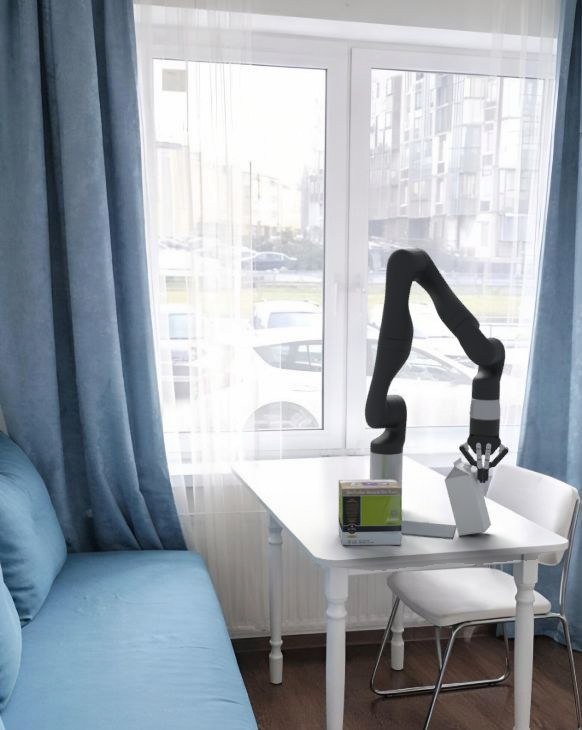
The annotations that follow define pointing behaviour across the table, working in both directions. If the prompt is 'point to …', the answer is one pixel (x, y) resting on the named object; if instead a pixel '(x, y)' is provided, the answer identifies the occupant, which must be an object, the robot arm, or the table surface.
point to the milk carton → (467, 499)
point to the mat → (428, 529)
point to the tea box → (370, 512)
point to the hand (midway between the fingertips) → (482, 482)
